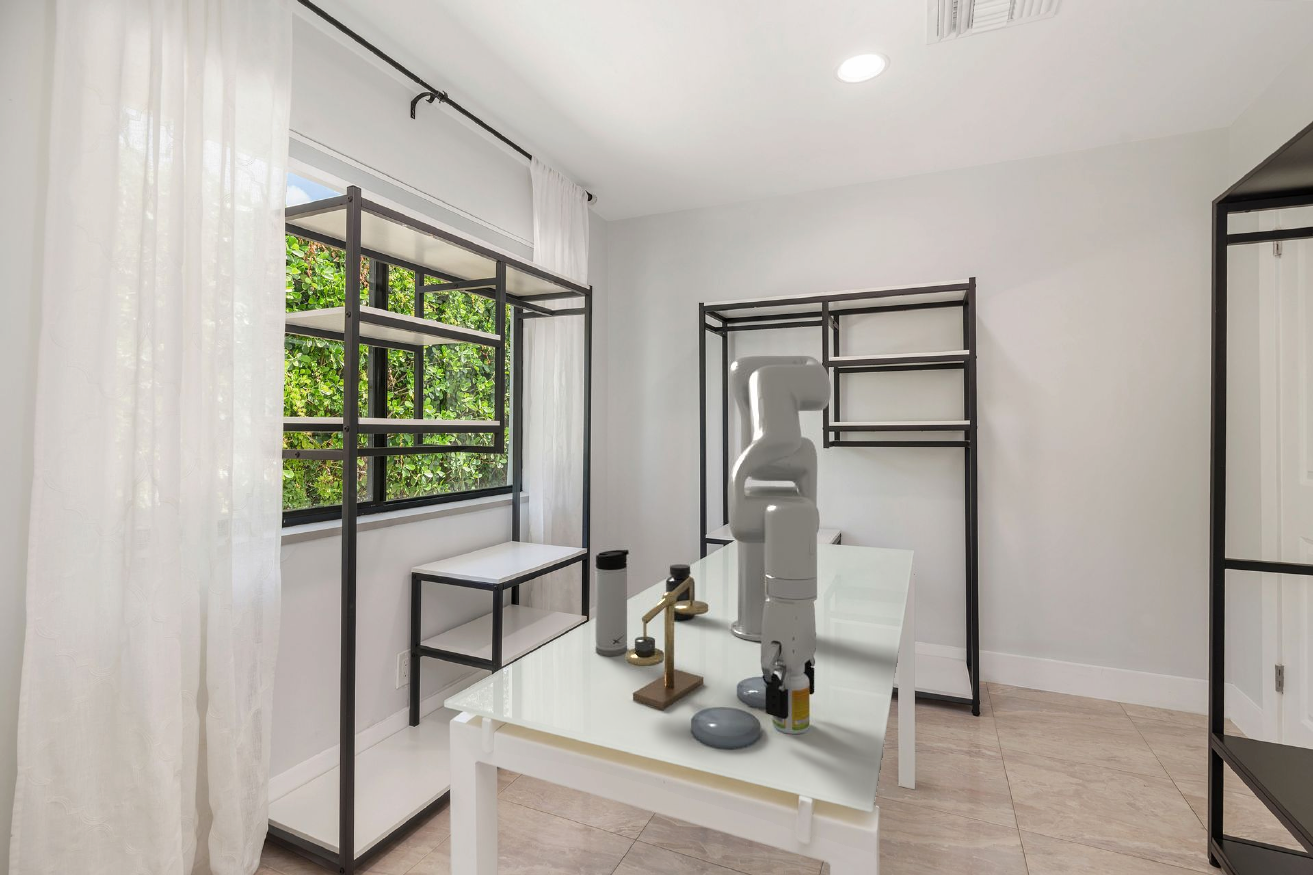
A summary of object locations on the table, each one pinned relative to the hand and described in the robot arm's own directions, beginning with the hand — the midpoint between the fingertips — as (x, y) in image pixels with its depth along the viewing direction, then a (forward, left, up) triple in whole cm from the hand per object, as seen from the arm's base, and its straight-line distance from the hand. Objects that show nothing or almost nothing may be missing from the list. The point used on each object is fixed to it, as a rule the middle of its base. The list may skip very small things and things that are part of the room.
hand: (790, 703), depth 87 cm
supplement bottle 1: (-34, -42, -4) cm, 54 cm away
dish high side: (-7, -7, -3) cm, 11 cm away
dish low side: (+7, -7, -3) cm, 10 cm away
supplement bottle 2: (0, 0, -4) cm, 4 cm away
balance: (+1, -21, -3) cm, 21 cm away
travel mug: (-8, -41, -4) cm, 42 cm away
